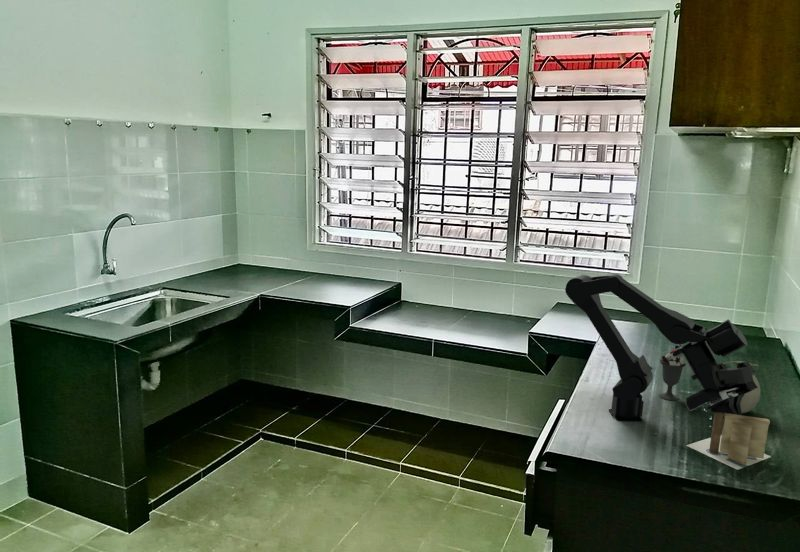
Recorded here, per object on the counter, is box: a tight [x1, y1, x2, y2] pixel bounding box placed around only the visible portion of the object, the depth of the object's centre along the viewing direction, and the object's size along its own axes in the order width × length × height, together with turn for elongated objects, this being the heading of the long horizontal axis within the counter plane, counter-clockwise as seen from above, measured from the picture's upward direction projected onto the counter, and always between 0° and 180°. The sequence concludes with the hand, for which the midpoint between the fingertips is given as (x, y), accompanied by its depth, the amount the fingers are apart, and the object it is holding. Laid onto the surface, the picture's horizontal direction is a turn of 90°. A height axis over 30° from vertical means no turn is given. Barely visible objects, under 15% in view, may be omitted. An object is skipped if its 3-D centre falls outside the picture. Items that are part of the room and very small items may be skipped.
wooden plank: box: [709, 412, 753, 465], centre depth 130 cm, size 8×2×9 cm, turn 29°
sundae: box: [658, 344, 687, 402], centre depth 163 cm, size 7×7×15 cm
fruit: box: [722, 360, 761, 414], centre depth 156 cm, size 10×12×15 cm
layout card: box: [686, 434, 772, 471], centre depth 134 cm, size 12×12×1 cm
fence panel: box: [720, 413, 771, 459], centre depth 131 cm, size 9×1×9 cm, turn 72°
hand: (742, 430), depth 132 cm, fingers closed
